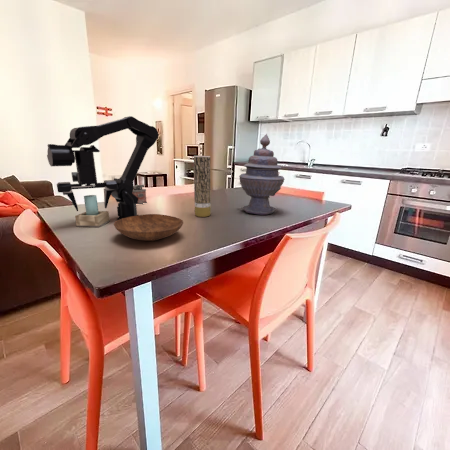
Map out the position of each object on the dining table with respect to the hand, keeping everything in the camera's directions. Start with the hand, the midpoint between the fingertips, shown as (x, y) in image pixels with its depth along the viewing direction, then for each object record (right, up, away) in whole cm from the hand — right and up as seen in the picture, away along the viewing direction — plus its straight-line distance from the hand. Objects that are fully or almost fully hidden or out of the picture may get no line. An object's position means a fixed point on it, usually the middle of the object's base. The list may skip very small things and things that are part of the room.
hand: (92, 209), depth 89 cm
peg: (0, -5, +1) cm, 5 cm away
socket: (0, -5, +2) cm, 6 cm away
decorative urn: (+65, 0, +25) cm, 70 cm away
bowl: (+25, -10, -11) cm, 29 cm away
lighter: (+4, +5, +38) cm, 39 cm away
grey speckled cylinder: (+39, -2, +17) cm, 43 cm away
